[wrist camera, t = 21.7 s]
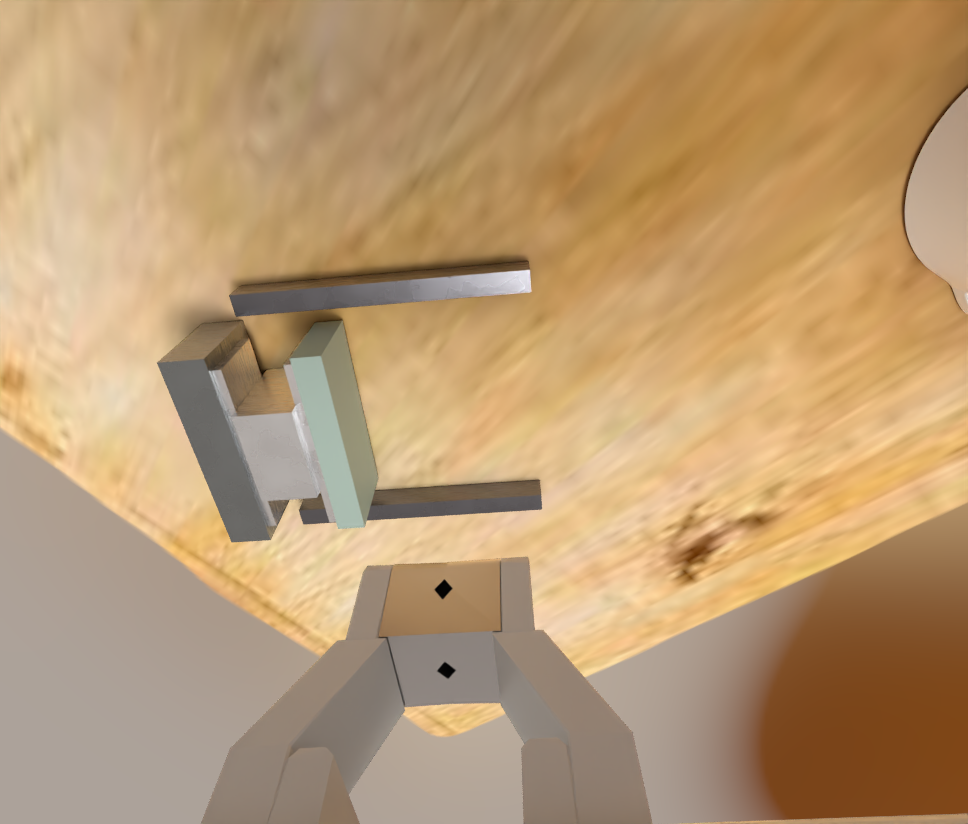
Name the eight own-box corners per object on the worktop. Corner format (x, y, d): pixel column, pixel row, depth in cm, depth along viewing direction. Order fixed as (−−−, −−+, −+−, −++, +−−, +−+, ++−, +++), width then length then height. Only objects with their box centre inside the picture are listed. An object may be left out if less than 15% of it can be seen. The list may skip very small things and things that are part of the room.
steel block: (319, 365, 43) (291, 412, 37) (339, 442, 47) (317, 497, 41) (267, 369, 43) (231, 417, 37) (291, 446, 47) (261, 501, 41)
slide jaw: (342, 320, 41) (321, 356, 36) (378, 478, 48) (364, 527, 43) (306, 323, 41) (280, 359, 36) (347, 480, 48) (330, 529, 43)
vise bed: (528, 261, 39) (534, 292, 33) (540, 494, 49) (546, 548, 43) (190, 290, 40) (141, 325, 34) (269, 511, 50) (241, 566, 45)
